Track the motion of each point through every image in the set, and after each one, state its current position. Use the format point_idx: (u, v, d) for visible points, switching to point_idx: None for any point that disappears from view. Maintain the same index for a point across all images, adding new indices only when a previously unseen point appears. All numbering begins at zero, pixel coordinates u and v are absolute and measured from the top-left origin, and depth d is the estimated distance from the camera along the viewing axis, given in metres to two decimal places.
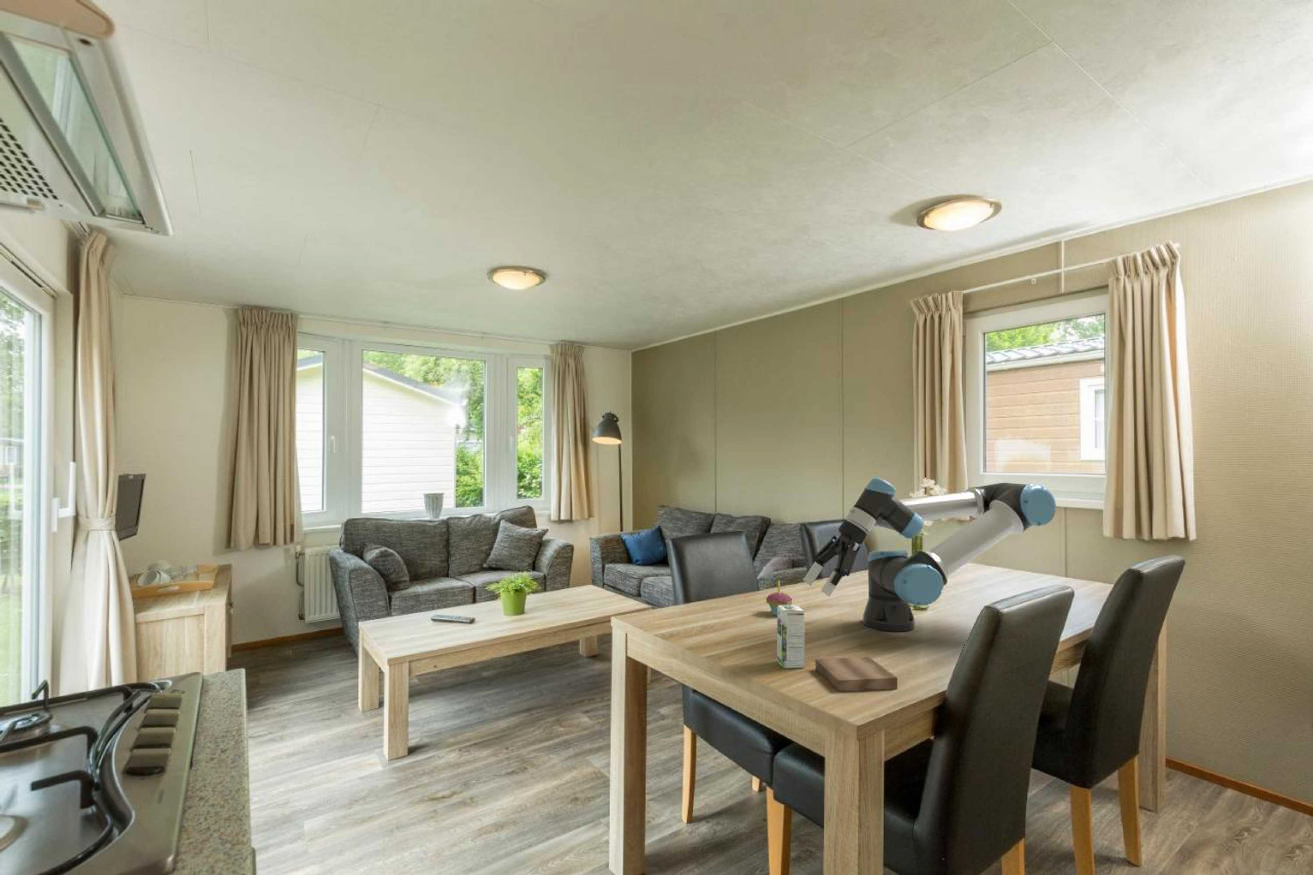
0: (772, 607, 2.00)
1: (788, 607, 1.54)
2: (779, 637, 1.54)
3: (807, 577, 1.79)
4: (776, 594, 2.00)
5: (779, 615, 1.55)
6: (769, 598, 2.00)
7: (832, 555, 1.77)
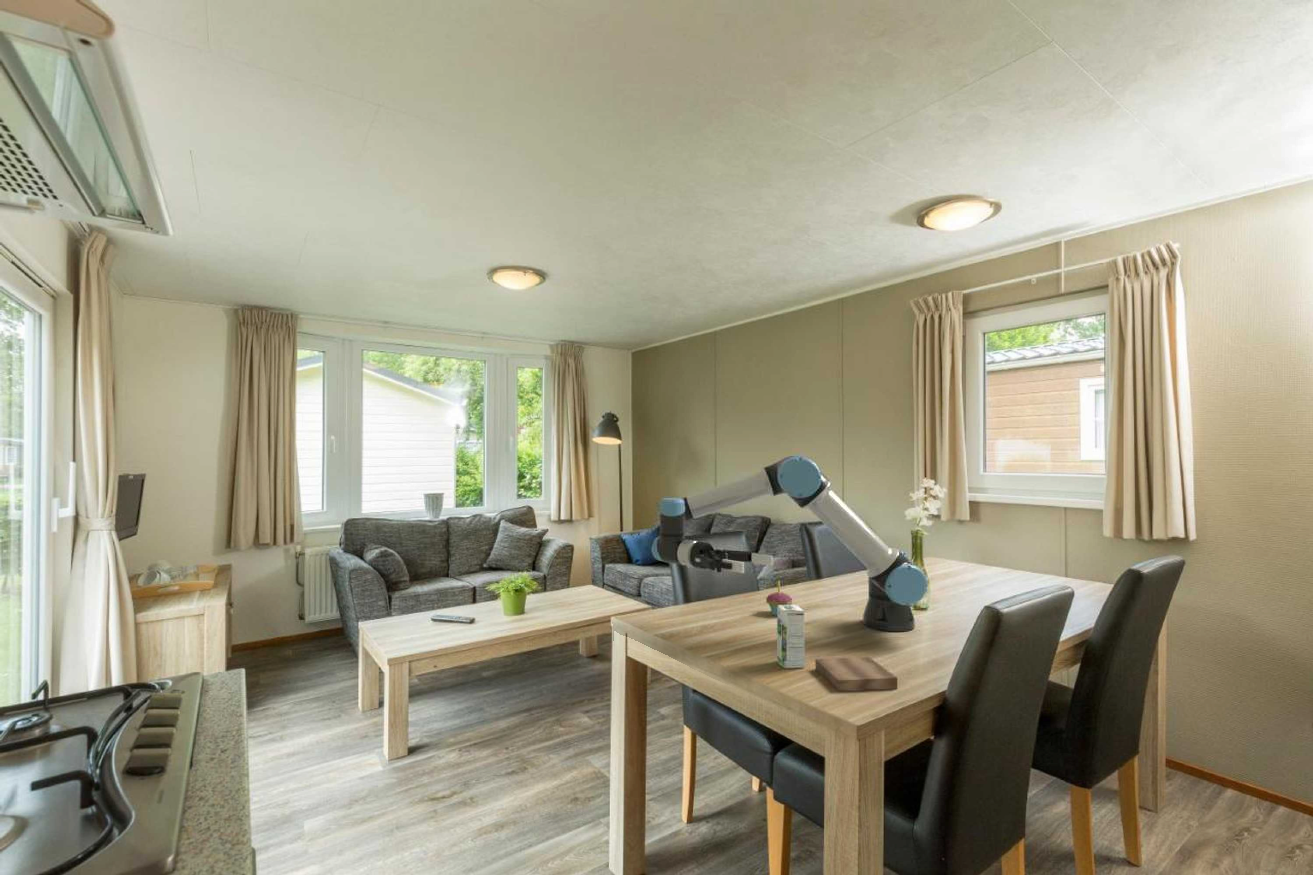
0: (772, 607, 2.00)
1: (788, 607, 1.54)
2: (779, 637, 1.54)
3: (767, 563, 1.67)
4: (776, 594, 2.00)
5: (779, 615, 1.55)
6: (769, 598, 2.00)
7: (734, 555, 1.71)
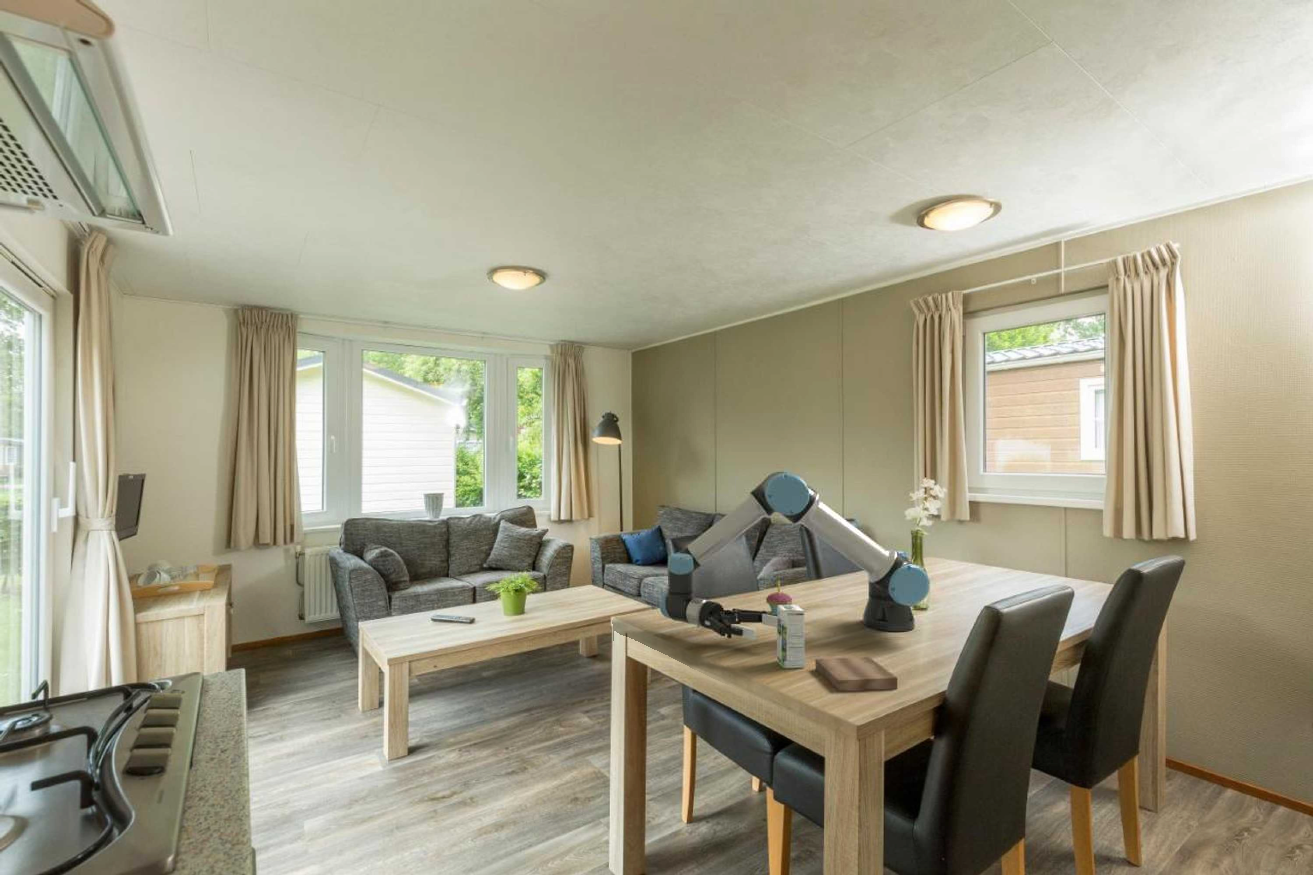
0: (772, 607, 2.00)
1: (788, 607, 1.54)
2: (779, 637, 1.54)
3: None
4: (776, 594, 2.00)
5: (779, 615, 1.55)
6: (769, 598, 2.00)
7: (744, 615, 1.68)
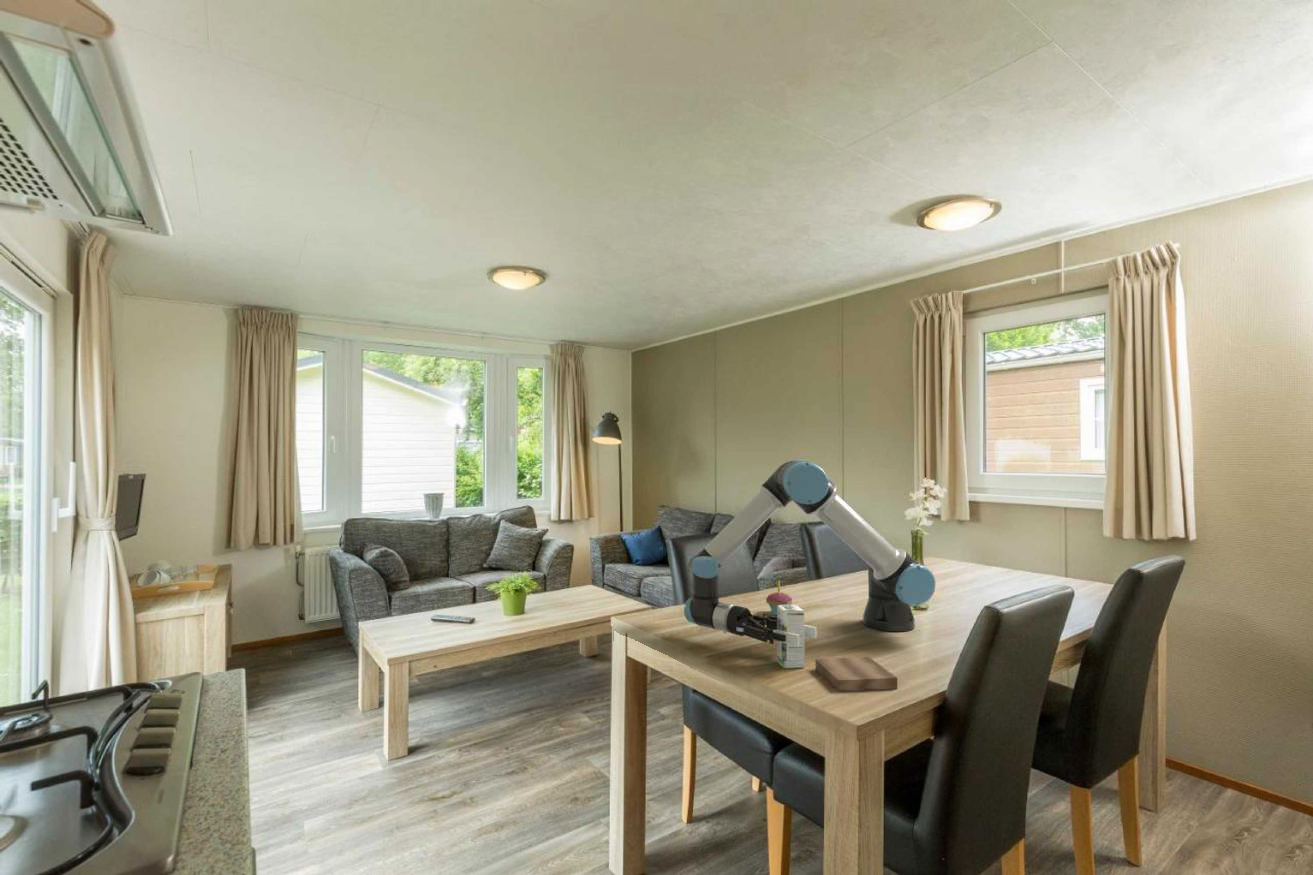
0: (772, 607, 2.00)
1: (788, 607, 1.54)
2: None
3: (810, 635, 1.55)
4: (776, 594, 2.00)
5: (779, 615, 1.55)
6: (769, 598, 2.00)
7: (772, 622, 1.61)
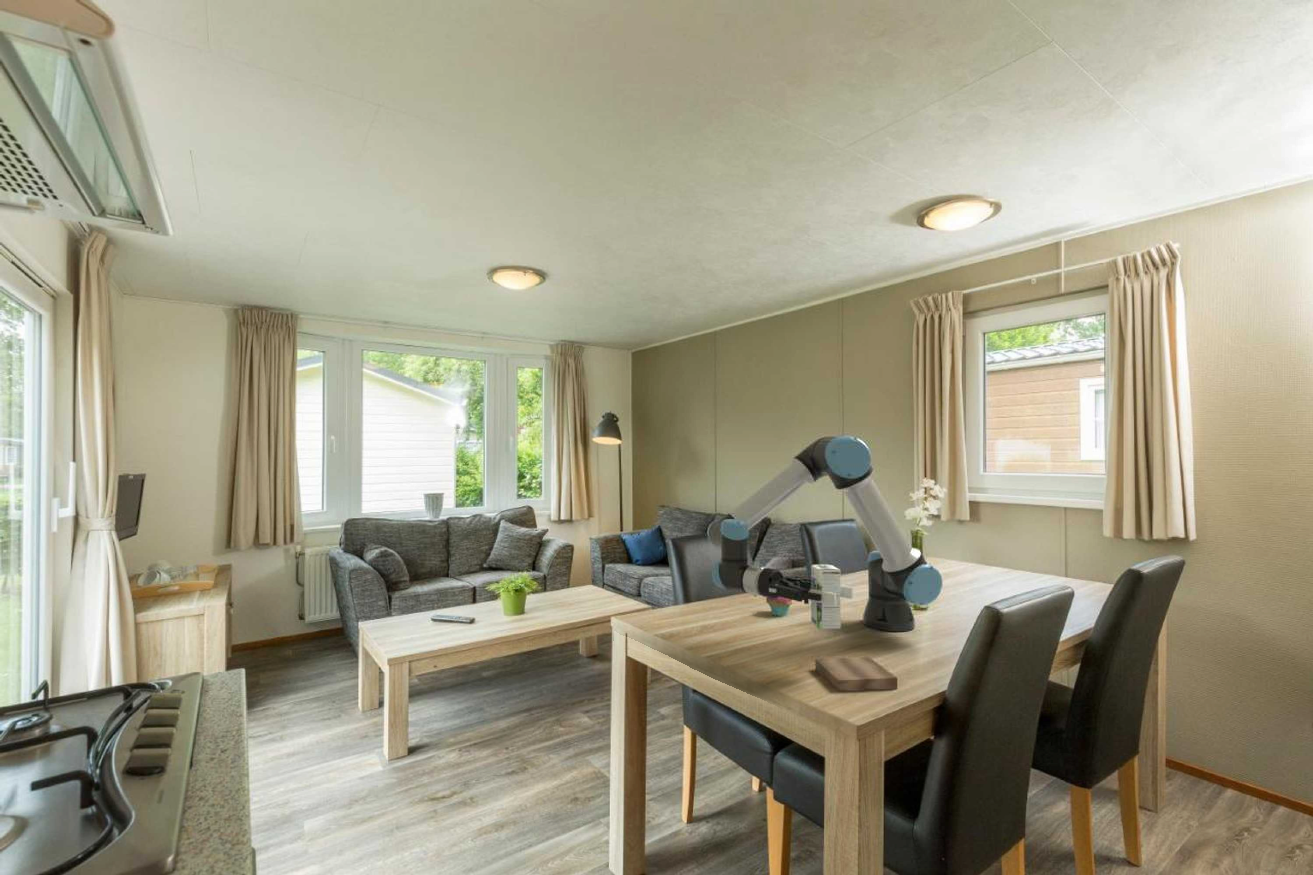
0: (772, 607, 2.00)
1: (823, 566, 1.48)
2: None
3: (846, 596, 1.48)
4: None
5: (813, 575, 1.48)
6: (769, 598, 2.00)
7: (806, 584, 1.55)
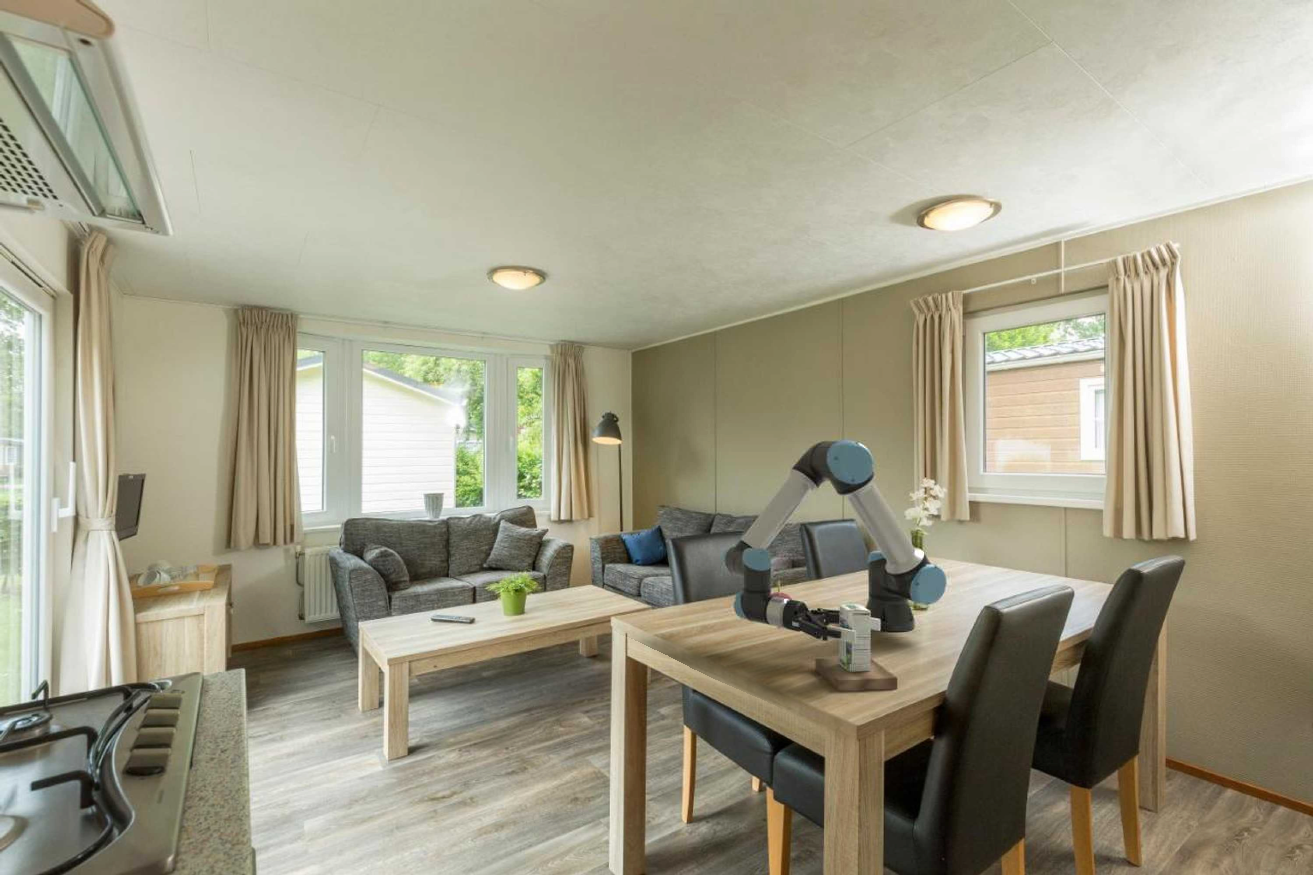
0: None
1: (852, 606, 1.45)
2: None
3: (873, 628, 1.48)
4: (776, 594, 2.00)
5: (842, 615, 1.45)
6: None
7: (832, 616, 1.53)
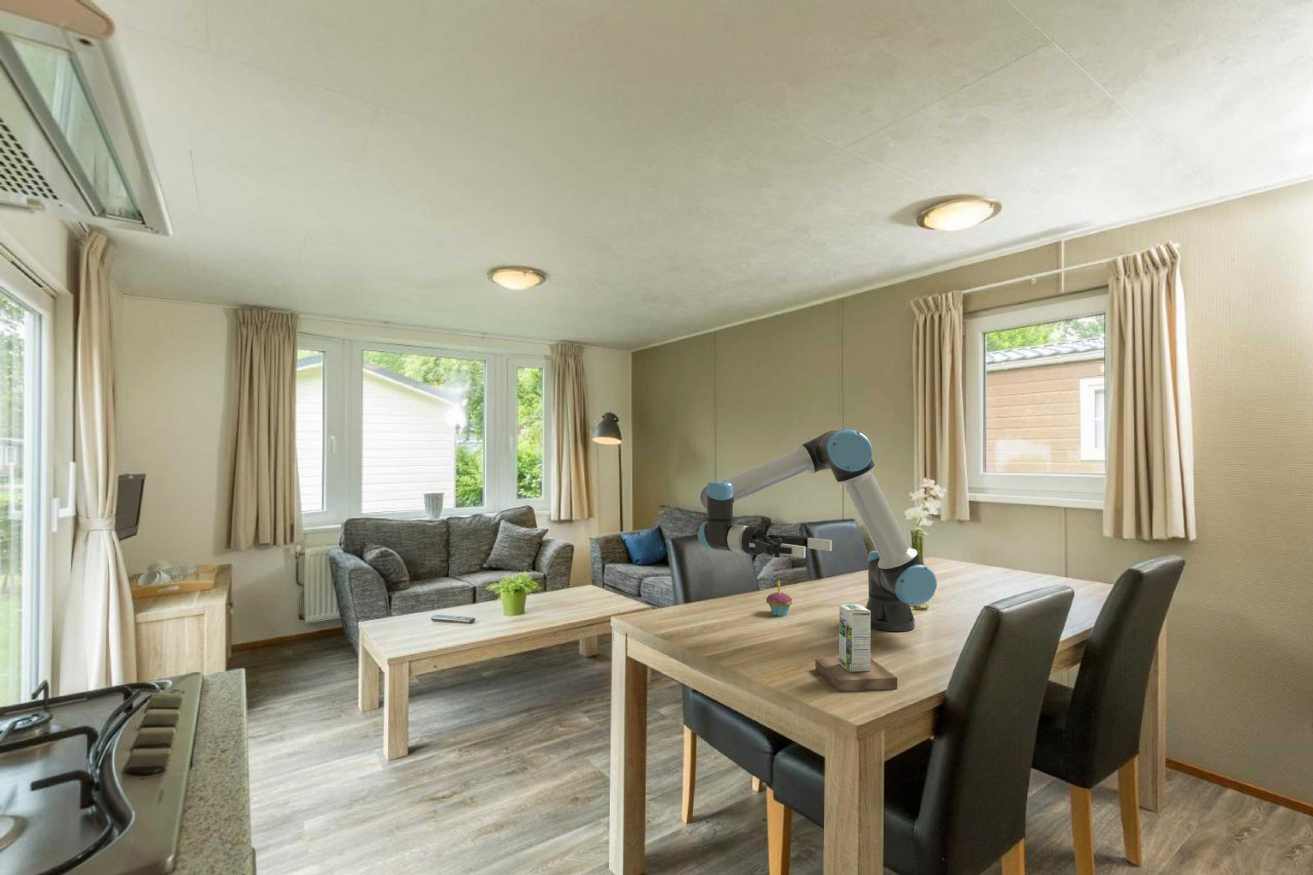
0: (772, 607, 2.00)
1: (852, 607, 1.45)
2: (842, 638, 1.45)
3: (825, 548, 1.58)
4: (776, 594, 2.00)
5: (842, 615, 1.45)
6: (769, 598, 2.00)
7: (788, 540, 1.62)
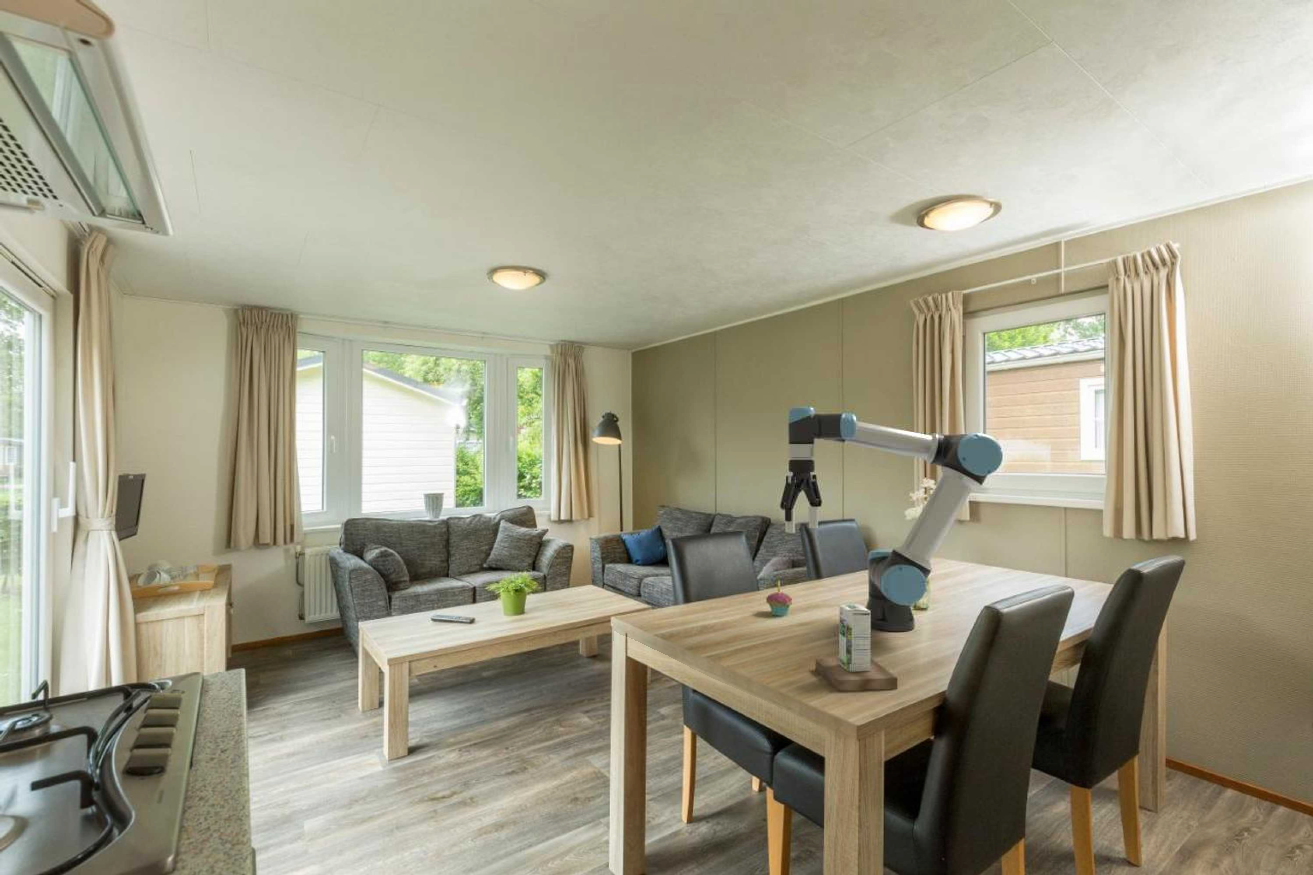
0: (772, 607, 2.00)
1: (852, 606, 1.45)
2: (842, 638, 1.45)
3: (810, 523, 1.85)
4: (776, 594, 2.00)
5: (842, 615, 1.45)
6: (769, 598, 2.00)
7: (810, 493, 1.83)
